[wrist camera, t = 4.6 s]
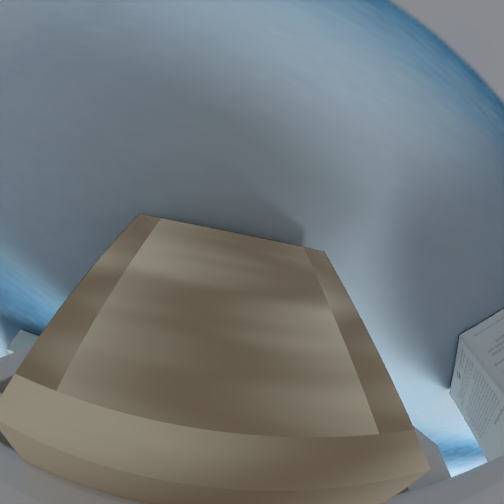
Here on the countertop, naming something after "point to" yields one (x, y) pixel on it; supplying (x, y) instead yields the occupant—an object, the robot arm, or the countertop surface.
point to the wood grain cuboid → (212, 378)
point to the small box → (482, 383)
